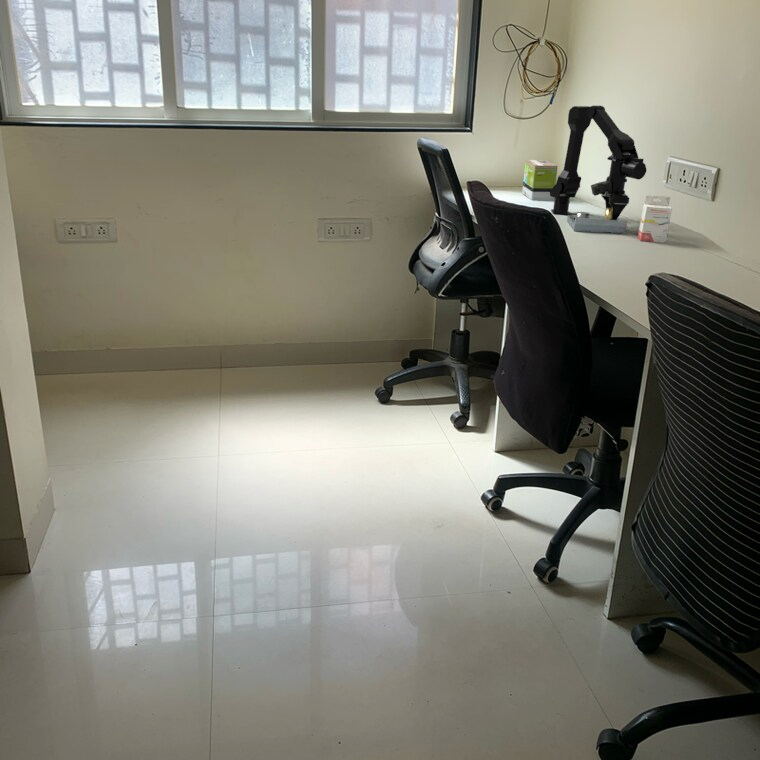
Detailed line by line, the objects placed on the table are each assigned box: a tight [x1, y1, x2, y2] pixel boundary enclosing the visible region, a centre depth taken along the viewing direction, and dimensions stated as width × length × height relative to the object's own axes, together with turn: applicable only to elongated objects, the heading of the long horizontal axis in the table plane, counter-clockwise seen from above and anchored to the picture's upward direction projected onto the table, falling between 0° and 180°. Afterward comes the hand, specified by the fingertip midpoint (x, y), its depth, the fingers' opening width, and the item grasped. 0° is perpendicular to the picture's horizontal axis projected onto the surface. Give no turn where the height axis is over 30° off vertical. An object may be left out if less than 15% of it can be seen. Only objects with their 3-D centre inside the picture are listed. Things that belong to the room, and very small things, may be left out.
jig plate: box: [566, 214, 628, 234], centre depth 280 cm, size 16×18×4 cm
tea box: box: [521, 159, 558, 202], centre depth 330 cm, size 15×10×15 cm, turn 6°
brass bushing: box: [604, 207, 612, 220], centre depth 280 cm, size 4×4×7 cm
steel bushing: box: [576, 211, 591, 218], centre depth 280 cm, size 4×4×5 cm
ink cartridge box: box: [637, 194, 673, 243], centre depth 263 cm, size 9×5×15 cm, turn 84°
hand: (610, 219), depth 280 cm, fingers open, 9 cm apart
